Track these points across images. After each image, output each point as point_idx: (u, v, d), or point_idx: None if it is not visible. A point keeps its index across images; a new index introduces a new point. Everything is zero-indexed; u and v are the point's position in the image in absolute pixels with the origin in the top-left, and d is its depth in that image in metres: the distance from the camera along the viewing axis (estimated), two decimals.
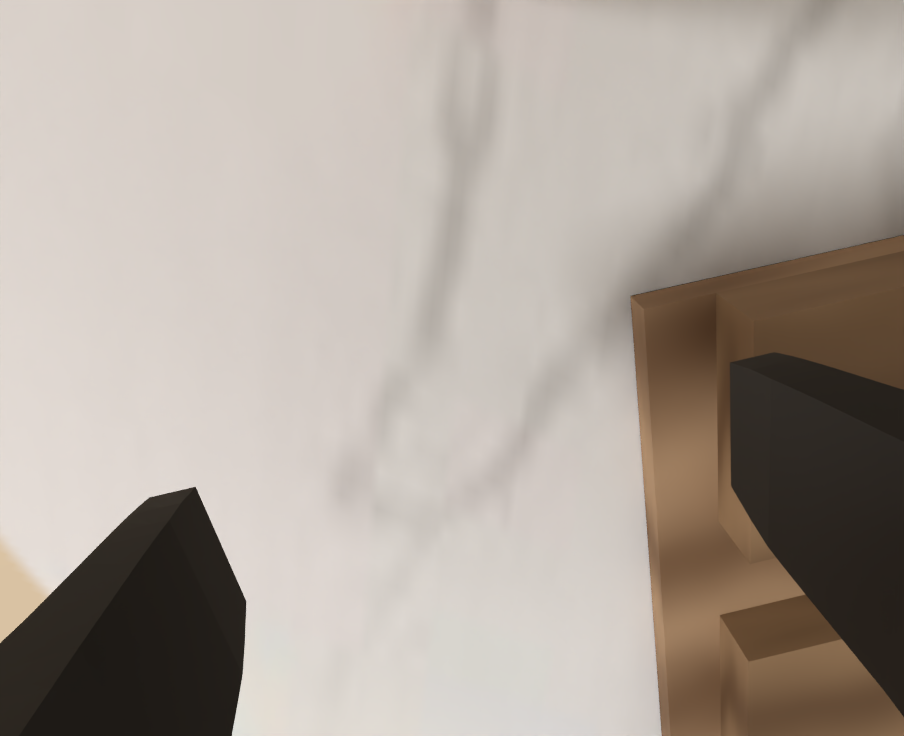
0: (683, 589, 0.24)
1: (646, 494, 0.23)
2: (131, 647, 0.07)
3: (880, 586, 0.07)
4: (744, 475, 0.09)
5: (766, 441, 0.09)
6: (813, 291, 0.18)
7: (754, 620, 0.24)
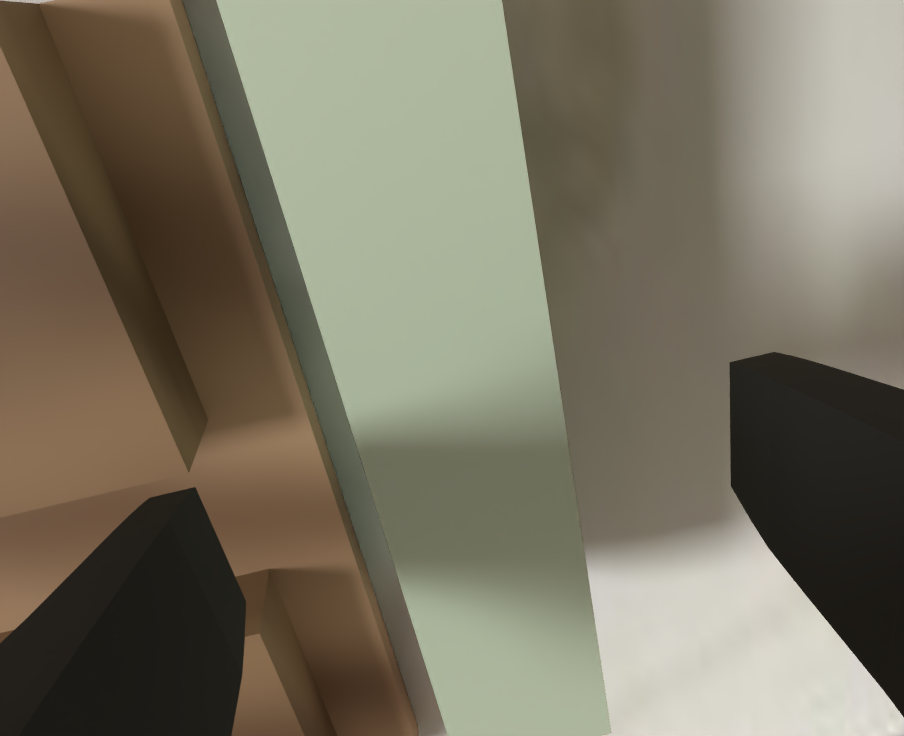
0: None
1: None
2: (131, 647, 0.07)
3: (880, 586, 0.07)
4: (744, 475, 0.09)
5: (766, 441, 0.09)
6: None
7: None
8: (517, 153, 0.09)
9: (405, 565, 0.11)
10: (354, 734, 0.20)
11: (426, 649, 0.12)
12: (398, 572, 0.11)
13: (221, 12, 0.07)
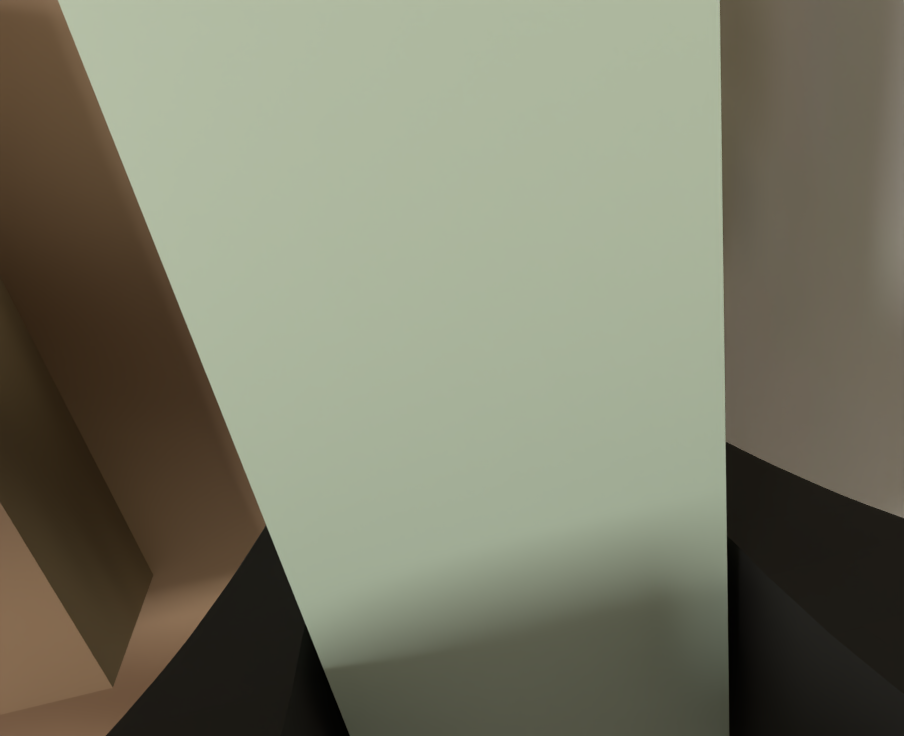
0: None
1: None
2: None
3: None
4: None
5: None
6: None
7: None
8: (708, 285, 0.04)
9: None
10: None
11: None
12: None
13: None
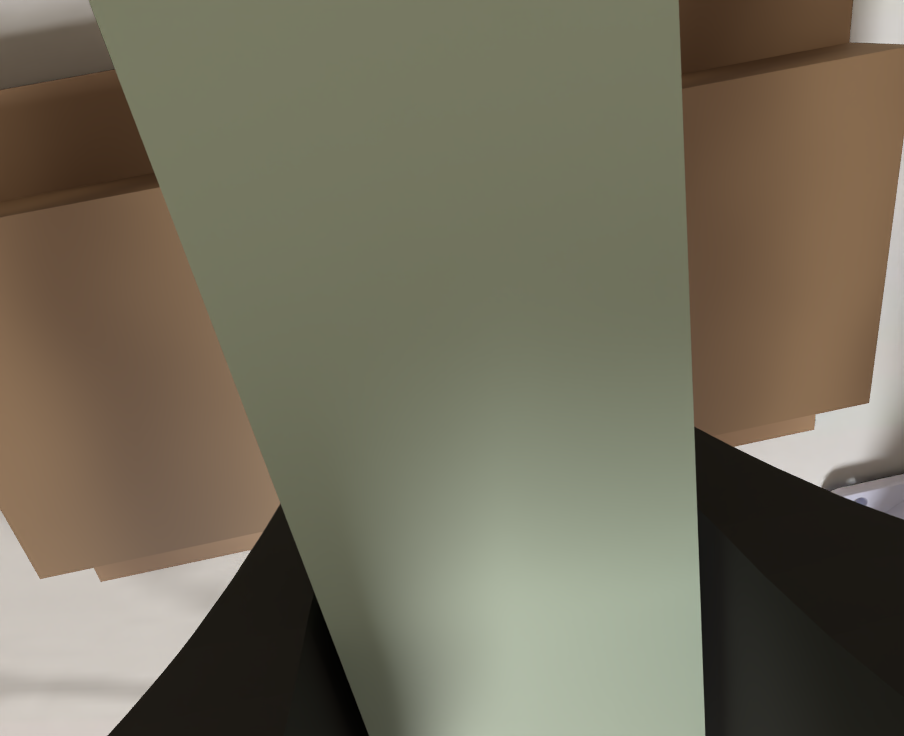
0: None
1: None
2: None
3: None
4: None
5: None
6: None
7: None
8: (674, 269, 0.05)
9: None
10: (780, 32, 0.15)
11: None
12: None
13: None
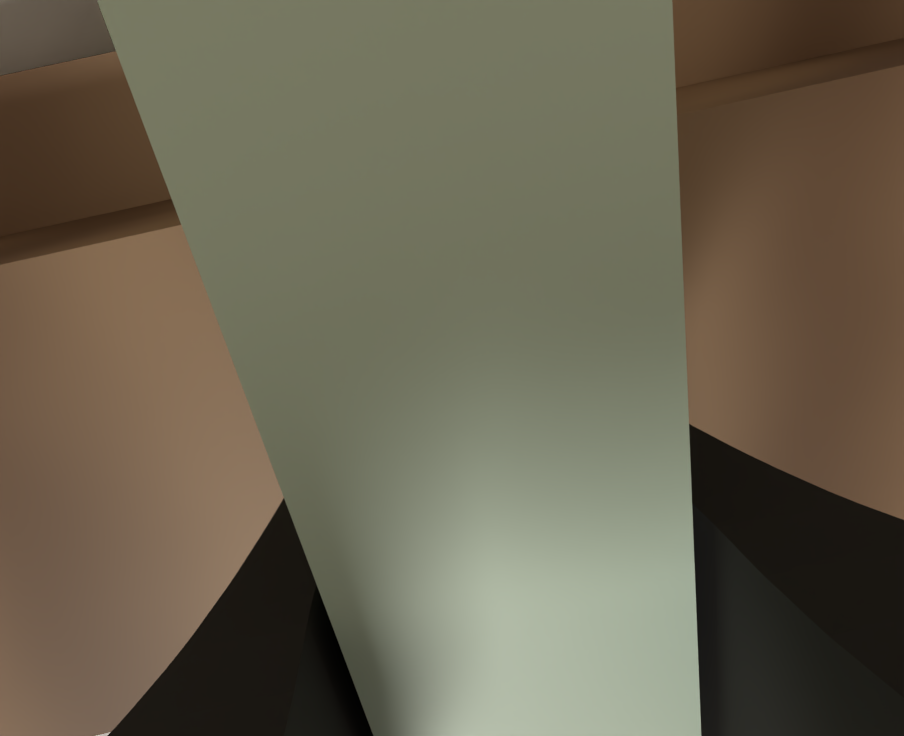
0: None
1: None
2: None
3: None
4: None
5: None
6: None
7: None
8: (669, 261, 0.05)
9: None
10: None
11: None
12: None
13: None
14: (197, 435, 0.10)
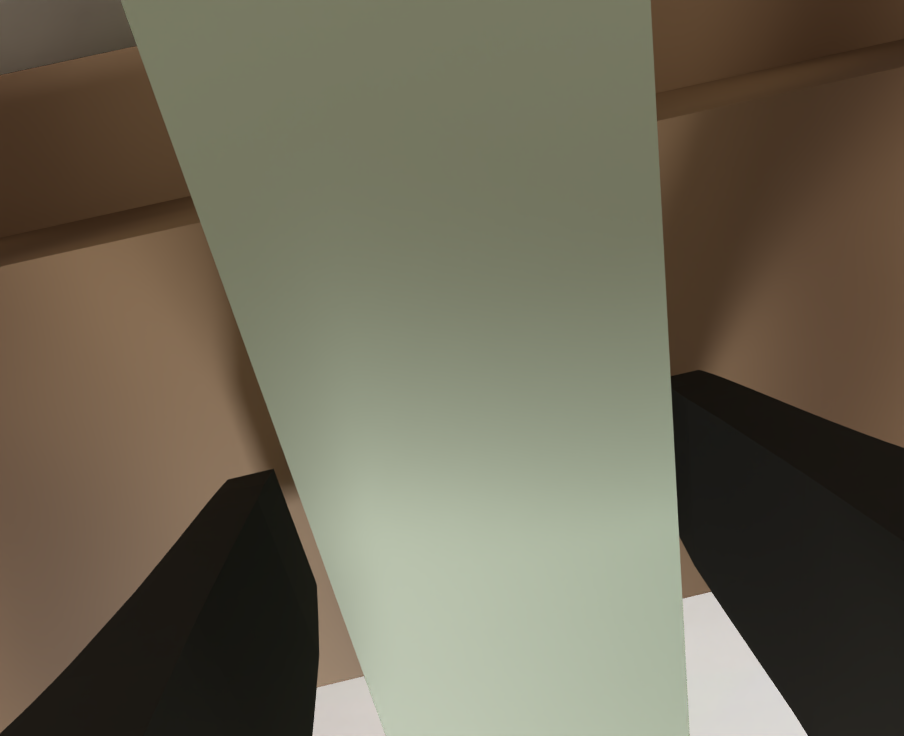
0: None
1: None
2: (235, 622, 0.07)
3: (785, 610, 0.07)
4: None
5: (686, 460, 0.09)
6: None
7: None
8: (650, 241, 0.05)
9: None
10: None
11: None
12: None
13: None
14: (195, 439, 0.10)
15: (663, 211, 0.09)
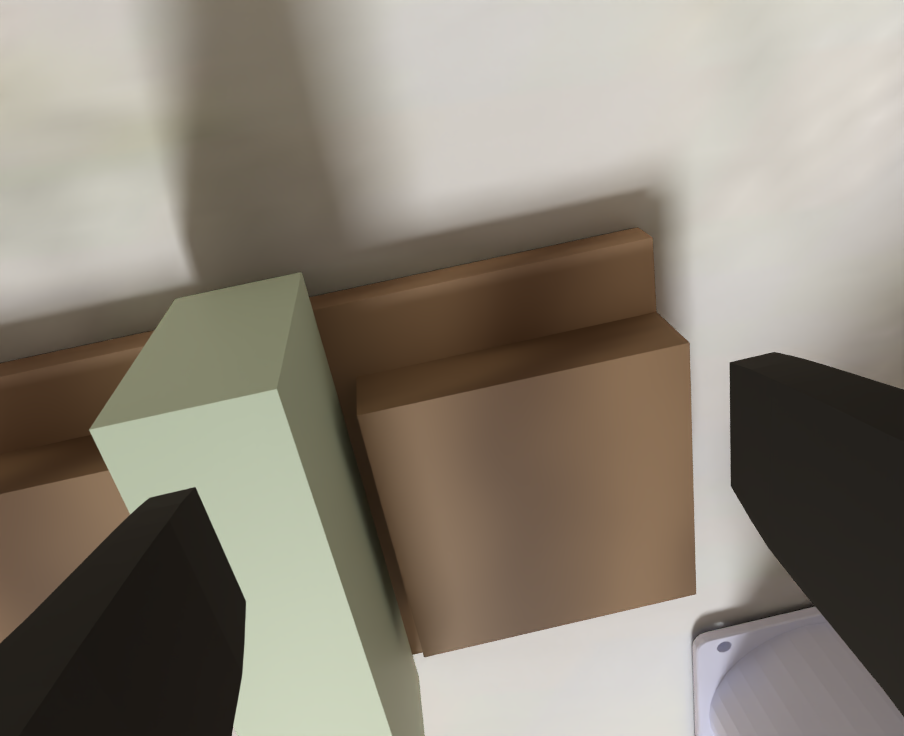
0: None
1: None
2: (131, 647, 0.07)
3: (880, 586, 0.07)
4: (744, 475, 0.09)
5: (766, 441, 0.09)
6: None
7: None
8: (320, 534, 0.12)
9: None
10: (595, 308, 0.18)
11: None
12: None
13: (111, 475, 0.11)
14: None
15: (408, 447, 0.17)
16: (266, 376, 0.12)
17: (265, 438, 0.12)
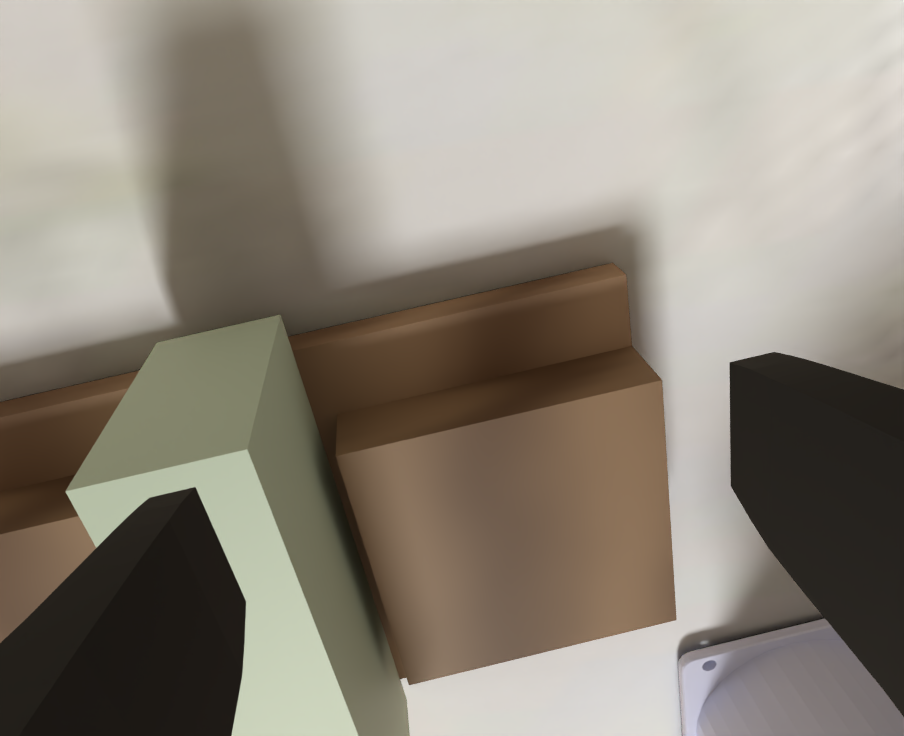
0: None
1: None
2: (131, 647, 0.07)
3: (880, 586, 0.07)
4: (744, 475, 0.09)
5: (766, 441, 0.09)
6: None
7: None
8: (295, 584, 0.13)
9: None
10: (572, 343, 0.18)
11: None
12: None
13: (88, 533, 0.12)
14: None
15: (387, 485, 0.17)
16: (237, 434, 0.12)
17: (237, 496, 0.12)
